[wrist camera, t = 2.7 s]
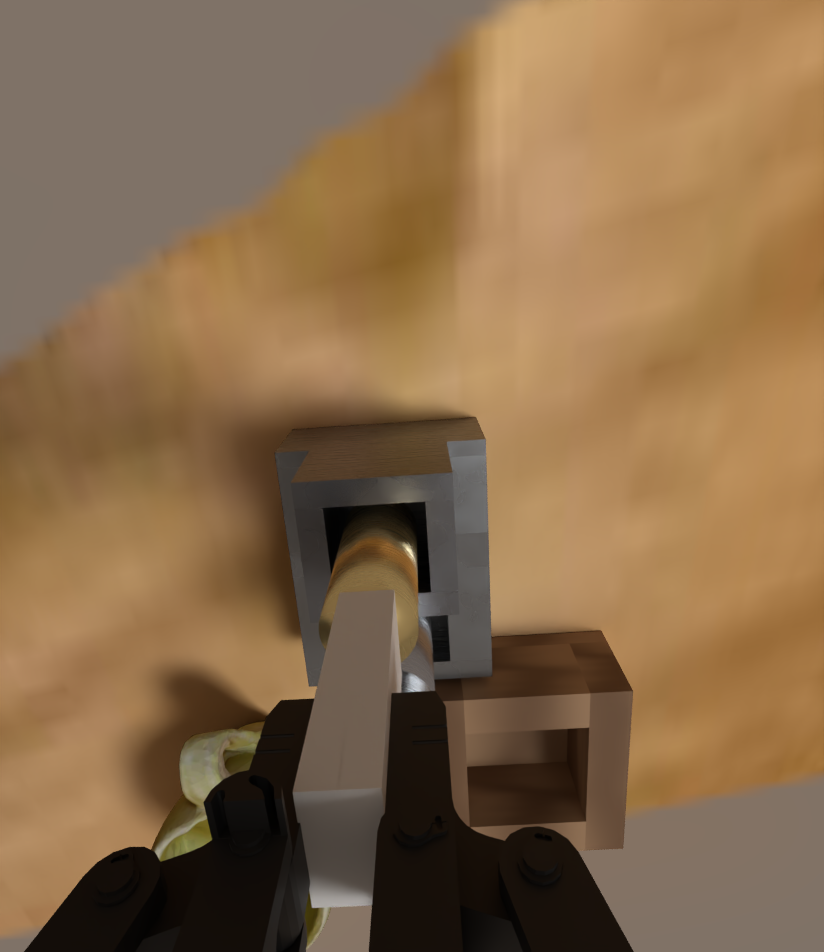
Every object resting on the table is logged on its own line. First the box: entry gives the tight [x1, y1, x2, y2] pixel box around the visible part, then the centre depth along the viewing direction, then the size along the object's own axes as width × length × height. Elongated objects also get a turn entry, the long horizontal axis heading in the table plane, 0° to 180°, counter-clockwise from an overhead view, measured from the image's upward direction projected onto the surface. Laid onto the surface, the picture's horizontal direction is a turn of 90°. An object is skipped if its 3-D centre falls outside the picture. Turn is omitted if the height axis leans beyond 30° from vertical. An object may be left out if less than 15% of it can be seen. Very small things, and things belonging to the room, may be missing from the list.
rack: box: [434, 631, 633, 851], centre depth 32 cm, size 10×10×5 cm
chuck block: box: [275, 418, 492, 686], centre depth 27 cm, size 9×12×9 cm
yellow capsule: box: [319, 503, 418, 662], centre depth 20 cm, size 3×3×7 cm
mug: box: [151, 721, 331, 949], centre depth 32 cm, size 12×10×10 cm
